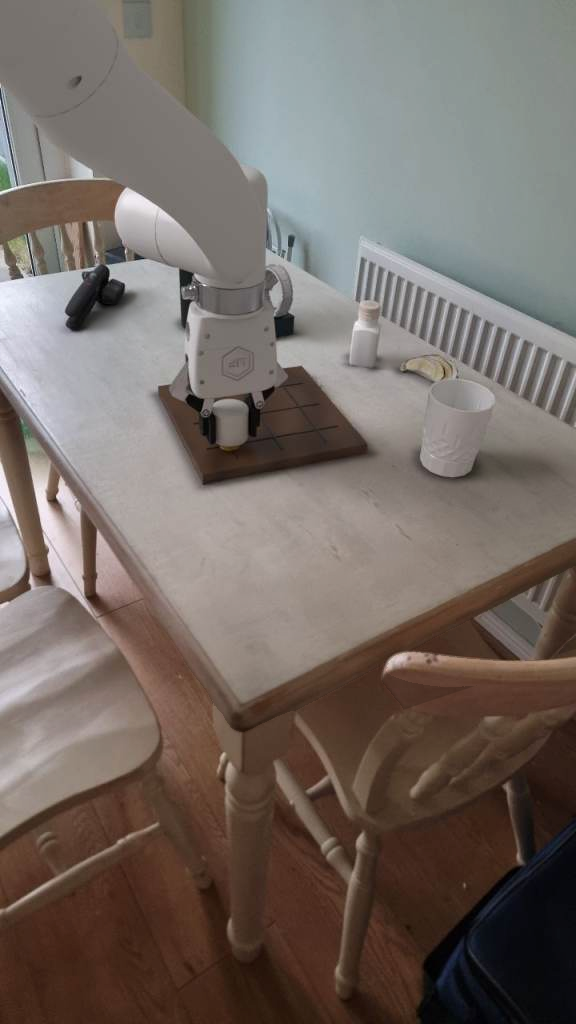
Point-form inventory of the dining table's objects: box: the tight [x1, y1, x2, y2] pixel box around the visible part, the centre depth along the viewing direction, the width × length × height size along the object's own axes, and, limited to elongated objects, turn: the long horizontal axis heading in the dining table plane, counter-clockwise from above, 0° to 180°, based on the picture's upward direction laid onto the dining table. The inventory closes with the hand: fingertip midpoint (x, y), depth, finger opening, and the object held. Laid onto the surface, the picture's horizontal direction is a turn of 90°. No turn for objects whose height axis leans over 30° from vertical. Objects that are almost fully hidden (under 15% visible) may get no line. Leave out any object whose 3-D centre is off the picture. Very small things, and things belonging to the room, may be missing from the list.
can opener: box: [64, 264, 126, 330], centre depth 117 cm, size 18×7×6 cm, turn 169°
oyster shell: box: [399, 354, 459, 384], centre depth 105 cm, size 6×4×10 cm
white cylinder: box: [212, 399, 249, 446], centre depth 85 cm, size 5×5×4 cm
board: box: [157, 365, 368, 485], centre depth 94 cm, size 22×22×2 cm
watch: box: [264, 263, 295, 339], centre depth 113 cm, size 6×8×11 cm
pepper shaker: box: [348, 299, 382, 368], centre depth 107 cm, size 4×4×10 cm
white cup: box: [419, 378, 497, 478], centre depth 86 cm, size 8×8×10 cm
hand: (229, 433), depth 86 cm, fingers closed on white cylinder, 4 cm apart
